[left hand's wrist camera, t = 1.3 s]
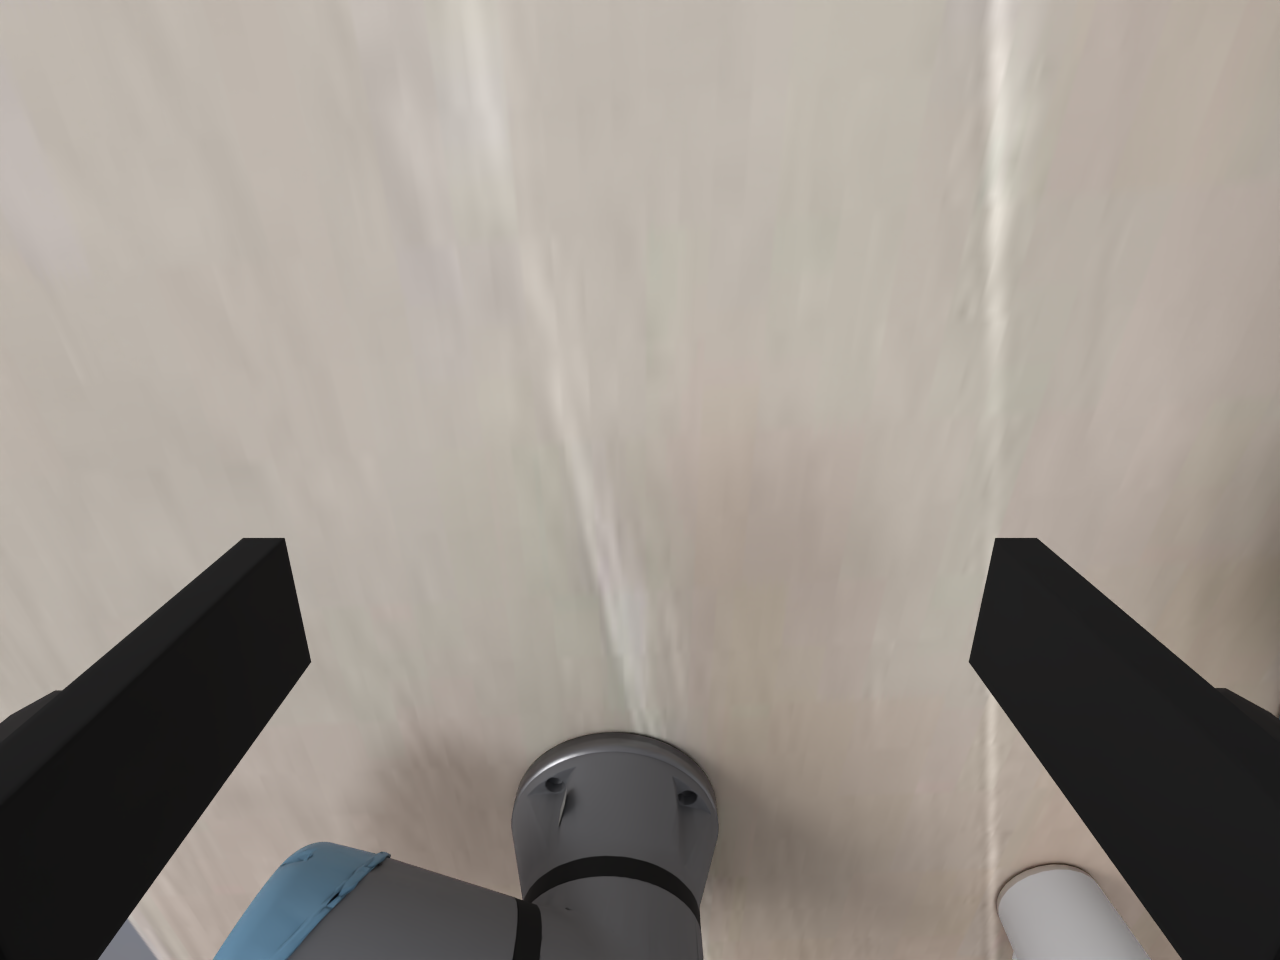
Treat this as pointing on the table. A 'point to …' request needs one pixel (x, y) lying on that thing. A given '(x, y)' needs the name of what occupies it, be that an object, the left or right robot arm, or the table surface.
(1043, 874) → the mug
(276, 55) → the table surface
